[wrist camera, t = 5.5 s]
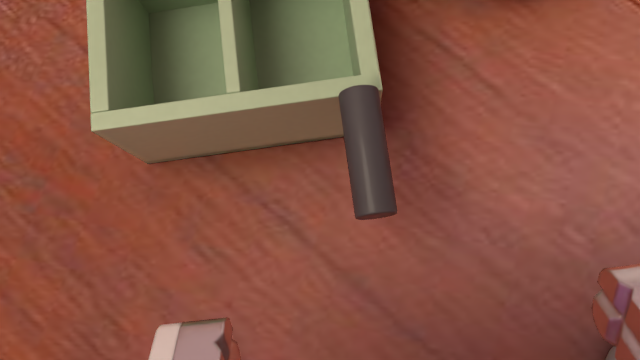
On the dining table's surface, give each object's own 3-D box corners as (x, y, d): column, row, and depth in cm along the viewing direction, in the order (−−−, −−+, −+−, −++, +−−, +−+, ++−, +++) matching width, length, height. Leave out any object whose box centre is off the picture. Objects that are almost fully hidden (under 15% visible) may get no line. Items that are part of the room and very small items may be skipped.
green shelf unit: (82, 252, 19) (404, 209, 19) (71, -78, 22) (352, -122, 22) (153, 260, 26) (391, 229, 26) (138, 7, 29) (352, -25, 29)
